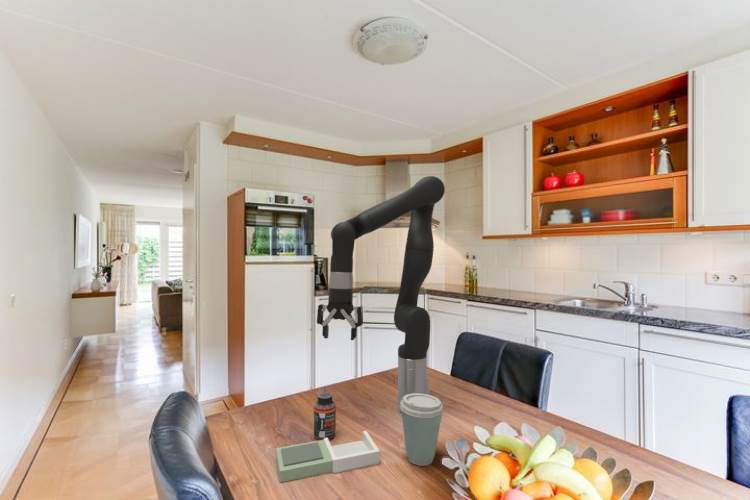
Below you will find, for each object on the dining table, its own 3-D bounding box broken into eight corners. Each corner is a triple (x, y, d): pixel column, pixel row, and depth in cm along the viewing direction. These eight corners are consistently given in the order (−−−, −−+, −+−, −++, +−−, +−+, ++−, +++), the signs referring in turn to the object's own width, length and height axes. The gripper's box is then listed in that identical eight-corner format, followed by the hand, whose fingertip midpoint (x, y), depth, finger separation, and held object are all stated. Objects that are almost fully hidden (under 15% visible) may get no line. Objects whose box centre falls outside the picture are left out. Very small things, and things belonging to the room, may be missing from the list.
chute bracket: (366, 441, 98) (366, 430, 98) (379, 463, 88) (379, 451, 88) (323, 449, 94) (323, 438, 94) (333, 473, 84) (333, 460, 84)
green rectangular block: (324, 449, 94) (324, 437, 94) (333, 471, 85) (333, 458, 85) (276, 458, 90) (276, 446, 90) (280, 482, 81) (280, 469, 81)
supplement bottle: (326, 444, 97) (326, 401, 97) (309, 438, 100) (309, 396, 100) (340, 434, 102) (340, 393, 102) (323, 428, 105) (323, 389, 105)
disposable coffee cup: (415, 442, 97) (415, 386, 97) (451, 457, 91) (451, 396, 91) (391, 460, 89) (391, 399, 89) (429, 478, 82) (429, 411, 82)
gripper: (365, 286, 117) (364, 338, 116) (322, 284, 119) (321, 335, 119) (360, 288, 109) (359, 343, 109) (315, 286, 112) (313, 339, 112)
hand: (339, 338), depth 114 cm, fingers open, 8 cm apart
